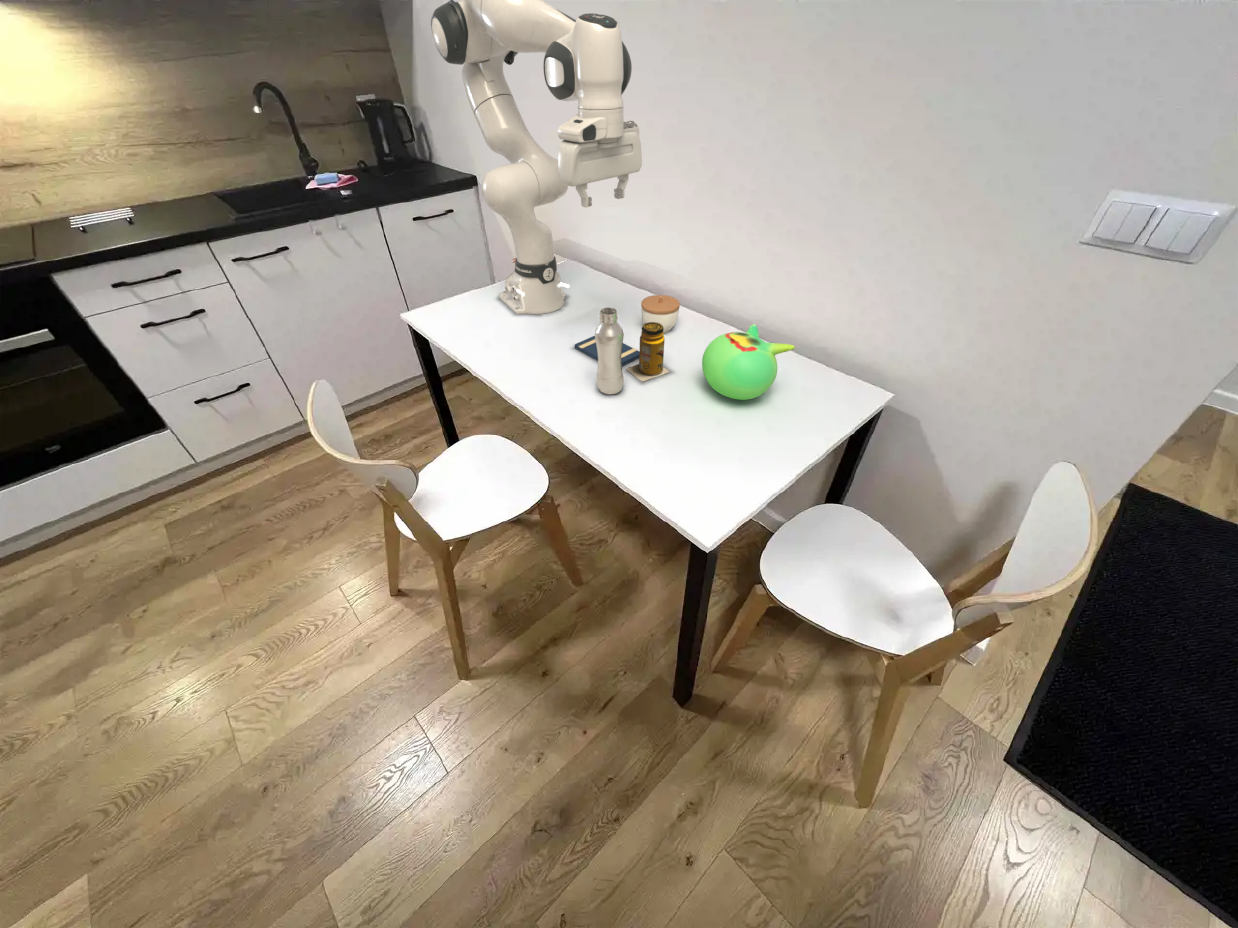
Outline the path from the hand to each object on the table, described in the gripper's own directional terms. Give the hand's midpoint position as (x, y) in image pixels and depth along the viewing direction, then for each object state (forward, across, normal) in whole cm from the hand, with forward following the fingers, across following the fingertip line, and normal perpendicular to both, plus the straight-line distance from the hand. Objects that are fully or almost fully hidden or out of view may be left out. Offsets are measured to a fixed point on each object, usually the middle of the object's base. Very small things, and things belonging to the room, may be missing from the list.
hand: (603, 202), depth 106 cm
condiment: (+37, -2, +13) cm, 40 cm away
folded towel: (+37, -1, -1) cm, 37 cm away
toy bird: (+37, -11, +34) cm, 52 cm away
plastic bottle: (+37, +11, +13) cm, 41 cm away
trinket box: (+37, -21, -1) cm, 43 cm away
